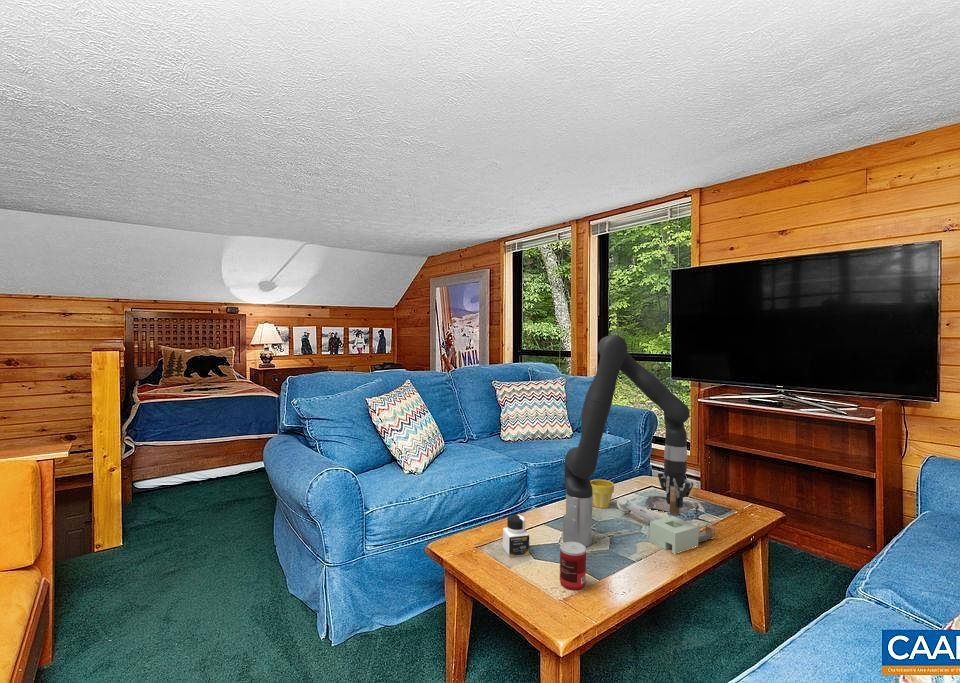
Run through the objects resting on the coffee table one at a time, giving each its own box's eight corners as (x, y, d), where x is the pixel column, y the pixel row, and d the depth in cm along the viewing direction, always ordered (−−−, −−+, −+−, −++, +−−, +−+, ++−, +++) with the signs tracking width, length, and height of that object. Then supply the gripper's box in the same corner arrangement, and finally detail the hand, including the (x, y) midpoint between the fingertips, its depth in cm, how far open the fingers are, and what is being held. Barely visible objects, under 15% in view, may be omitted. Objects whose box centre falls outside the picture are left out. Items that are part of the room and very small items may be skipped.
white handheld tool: (670, 532, 178) (612, 500, 196) (673, 540, 182) (616, 508, 200) (677, 520, 180) (618, 490, 198) (680, 529, 184) (622, 498, 202)
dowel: (675, 516, 170) (675, 488, 170) (667, 513, 173) (668, 485, 172) (681, 515, 171) (681, 487, 171) (673, 511, 174) (674, 484, 174)
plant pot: (600, 499, 216) (600, 477, 216) (618, 506, 207) (619, 484, 207) (583, 504, 210) (584, 481, 210) (602, 511, 202) (602, 488, 201)
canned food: (581, 576, 149) (582, 541, 149) (588, 590, 141) (589, 553, 141) (557, 576, 149) (557, 541, 149) (562, 590, 141) (563, 553, 141)
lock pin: (691, 545, 171) (691, 534, 170) (685, 543, 173) (685, 532, 172) (714, 538, 177) (715, 527, 177) (709, 535, 179) (709, 525, 179)
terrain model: (642, 510, 206) (642, 502, 206) (648, 499, 219) (649, 492, 219) (694, 519, 196) (695, 511, 196) (697, 507, 210) (698, 500, 209)
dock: (674, 554, 165) (675, 533, 164) (649, 541, 174) (649, 521, 174) (698, 546, 170) (698, 526, 170) (672, 534, 180) (672, 515, 180)
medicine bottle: (509, 557, 161) (509, 521, 160) (502, 547, 168) (503, 513, 167) (529, 555, 163) (529, 519, 162) (521, 545, 170) (522, 511, 169)
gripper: (652, 454, 176) (651, 501, 176) (685, 464, 163) (684, 514, 164) (666, 451, 179) (665, 497, 180) (700, 461, 167) (698, 510, 168)
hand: (674, 505), depth 172 cm, fingers closed on dowel, 3 cm apart
